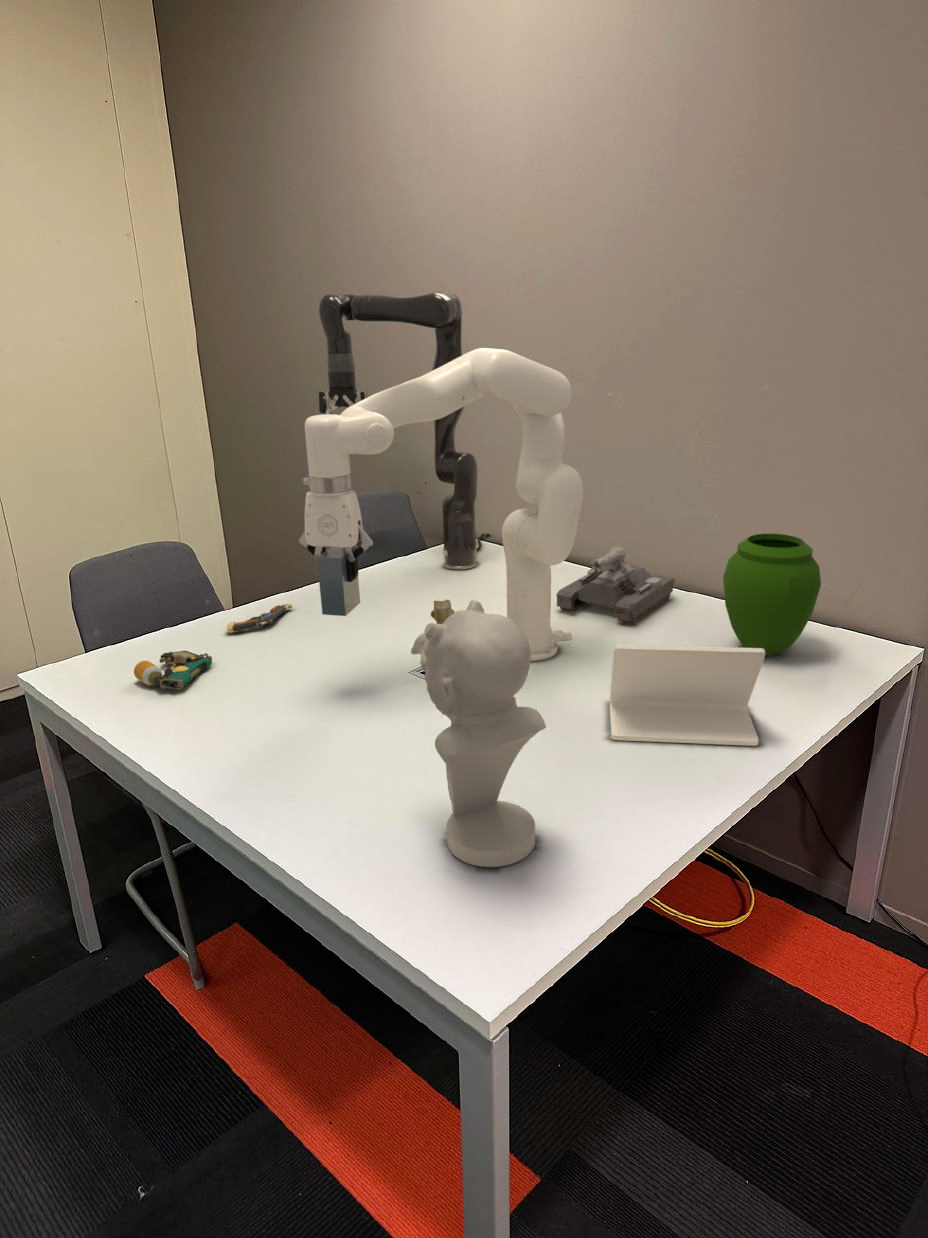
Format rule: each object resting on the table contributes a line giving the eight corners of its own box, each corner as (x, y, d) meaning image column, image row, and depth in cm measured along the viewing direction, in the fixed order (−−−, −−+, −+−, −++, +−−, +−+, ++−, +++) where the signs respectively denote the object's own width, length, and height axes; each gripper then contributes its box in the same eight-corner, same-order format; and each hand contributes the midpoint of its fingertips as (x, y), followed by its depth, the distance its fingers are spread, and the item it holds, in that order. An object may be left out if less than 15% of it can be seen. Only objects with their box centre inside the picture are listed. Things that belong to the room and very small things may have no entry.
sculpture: (458, 662, 183) (456, 596, 178) (460, 676, 176) (457, 608, 171) (431, 663, 183) (428, 597, 177) (431, 677, 176) (428, 609, 171)
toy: (603, 584, 229) (605, 530, 224) (673, 597, 218) (677, 540, 213) (555, 612, 210) (556, 553, 205) (630, 627, 199) (633, 566, 194)
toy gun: (223, 625, 202) (262, 621, 199) (256, 603, 219) (292, 600, 217) (225, 635, 202) (264, 632, 200) (258, 613, 220) (294, 610, 218)
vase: (820, 642, 188) (834, 534, 179) (800, 674, 173) (814, 558, 164) (732, 626, 198) (741, 524, 189) (705, 656, 183) (714, 546, 174)
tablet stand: (759, 746, 146) (769, 654, 140) (611, 740, 149) (614, 650, 143) (741, 699, 163) (749, 615, 157) (609, 695, 166) (611, 613, 160)
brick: (322, 614, 162) (316, 557, 158) (337, 601, 169) (332, 545, 165) (345, 616, 160) (340, 558, 156) (360, 602, 167) (356, 546, 163)
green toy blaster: (177, 659, 191) (231, 671, 185) (120, 684, 176) (176, 698, 171) (176, 641, 190) (230, 653, 184) (118, 665, 175) (174, 678, 169)
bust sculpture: (481, 772, 140) (476, 569, 128) (565, 848, 120) (569, 617, 108) (392, 800, 134) (378, 588, 121) (465, 886, 114) (457, 642, 101)
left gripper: (312, 371, 238) (317, 430, 244) (360, 370, 235) (364, 430, 241) (322, 368, 245) (327, 426, 251) (369, 368, 242) (373, 426, 248)
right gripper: (279, 487, 155) (289, 582, 161) (367, 489, 150) (373, 587, 157) (297, 479, 161) (306, 571, 168) (381, 481, 157) (387, 575, 164)
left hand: (345, 428), depth 246 cm, fingers open, 8 cm apart
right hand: (338, 578), depth 162 cm, fingers closed on brick, 4 cm apart
